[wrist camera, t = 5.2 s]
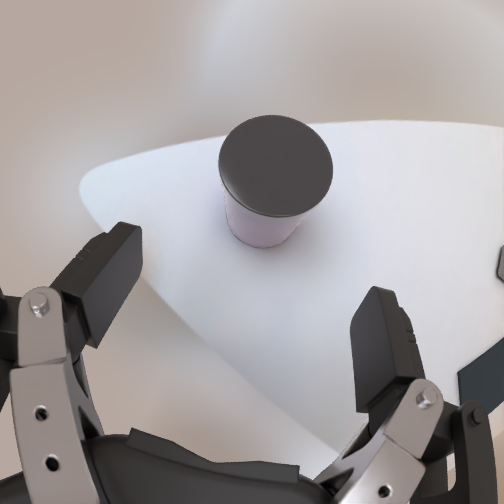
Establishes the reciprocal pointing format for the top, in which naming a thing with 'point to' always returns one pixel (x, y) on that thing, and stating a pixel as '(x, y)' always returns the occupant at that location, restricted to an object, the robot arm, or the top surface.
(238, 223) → the tin
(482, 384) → the mat
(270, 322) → the top surface
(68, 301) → the robot arm
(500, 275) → the key chain
